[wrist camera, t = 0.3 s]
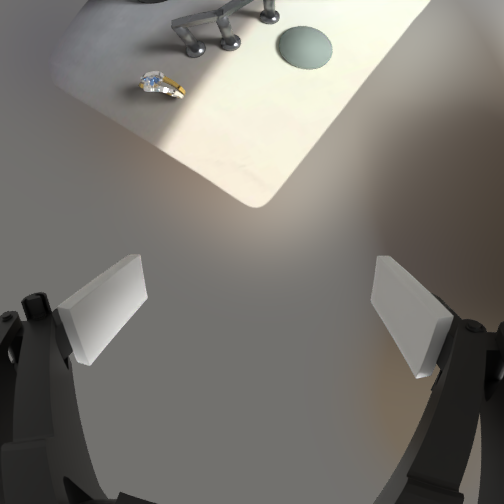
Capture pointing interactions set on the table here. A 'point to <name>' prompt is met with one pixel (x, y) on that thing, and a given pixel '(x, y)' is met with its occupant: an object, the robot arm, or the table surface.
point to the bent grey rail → (219, 25)
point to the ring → (152, 81)
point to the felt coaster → (305, 47)
